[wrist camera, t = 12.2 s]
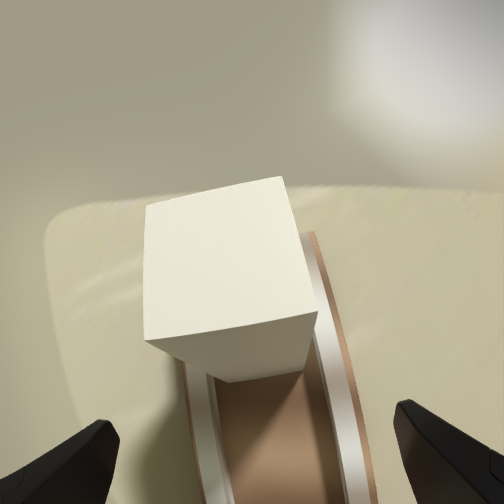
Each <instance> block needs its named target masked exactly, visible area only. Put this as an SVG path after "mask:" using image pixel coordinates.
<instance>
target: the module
mask: <svg viewBox="0 0 504 504" xmlns="http://www.w3.org/2000/svg"><path fill="white" fill-rule="evenodd" d="M317 315H318V307H317V303H316V299H315V295H314V291H313V287H312V283H311V279H310V275H309V271H308V267H307V264H306V260H305V256H304V253H303V249H302V245H301V242H300V238H299V234H298V231H297V227H296V224H295V220H294V217H293V213H292V210H291V206H290V203H289V199H288V196H287V192H286V189H285V186H284V182H283V179H282V176H278V177H273V178H267V179H262V180H257V181H252V182H247V183H241V184H237V185H232V186H227V187H222V188H218V189H213V190H208V191H204V192H200V193H195V194H191V195H187V196H182V197H178V198H174V199H170V200H166V201H162V202H158V203H154V204H150V205H146V218H145V236H144V265H143V320H144V341H146V342H148V343H150V344H151V345H153V346H155V347H157V348H159V349H160V350H162V351H164V352H166V353H168V354H170V355H172V356H174V357H176V358H177V359H179V360H181V361H183V362H185V363H187V364H189V365H191V366H193V367H195V368H197V369H199V370H201V371H203V372H206V373H208V374H210V375H212V376H214V377H216V378H218V379H220V380H223V381H225V382H227V383H233V382H240V381H247V380H253V379H259V378H265V377H271V376H276V375H281V374H287V373H292V372H297V371H301V370H304V366H305V363H306V359H307V355H308V351H309V348H310V344H311V340H312V336H313V332H314V328H315V324H316V319H317Z"/></svg>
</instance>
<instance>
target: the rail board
mask: <svg viewBox="0 0 504 504" xmlns="http://www.w3.org/2000/svg"><path fill="white" fill-rule="evenodd" d="M299 238H300V242H301V245H302V249H303V253H304V256H305V260H306V264H307V267H308V271H309V275H310V279H311V283H312V287H313V291H314V295H315V299H316V303H317V307H318V315H317V319H316V324H315V328H314V332H313V336H312V340H311V344H310V348H309V351H308V355H307V359H306V363H305V366H304V370H301V371H297V372H292V373H287V374H281V375H276V376H271V377H265V378H259V379H253V380H247V381H240V382H233V383H227V382H225V381H223V380H220V379H218V378H216V377H214V376H212V375H210V374H208V373H206V372H203V371H201V370H199V369H197V368H195V367H193V366H191V365H189V364H187V363H185V362H183V361H182V368H183V377H184V386H185V394H186V402H187V410H188V417H189V425H190V431H191V438H192V445H193V451H194V457H195V463H196V468H197V474H198V480H199V485H200V490H201V495H202V500H203V504H378V498H377V492H376V485H375V479H374V473H373V467H372V461H371V455H370V450H369V444H368V439H367V434H366V429H365V424H364V419H363V414H362V409H361V405H360V400H359V395H358V391H357V386H356V382H355V378H354V373H353V369H352V365H351V361H350V357H349V353H348V349H347V345H346V341H345V337H344V333H343V329H342V325H341V321H340V318H339V314H338V310H337V307H336V303H335V299H334V296H333V292H332V289H331V285H330V282H329V278H328V275H327V271H326V268H325V265H324V261H323V258H322V255H321V252H320V248H319V245H318V242H317V239H316V235H315V232H314V231H312V232H307V233H302V234H299Z"/></svg>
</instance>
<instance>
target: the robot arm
mask: <svg viewBox="0 0 504 504" xmlns="http://www.w3.org/2000/svg"><path fill="white" fill-rule="evenodd" d="M393 424H394V429H395V433H396V437H397V441H398V445H399V449H400V453H401V457H402V461H403V465H404V468H405V471H406V474H407V476H408V479H409V482H410V484H411V487H412V490H413V492H414V495H415V498H416V501H417V503H418V504H504V456H503V455H501V454H499V453H498V452H496V451H494V450H493V449H491V450H490V448H489V447H487V446H486V445H484V444H482V443H481V442H479V441H477V440H476V439H474V438H472V437H471V436H469V435H467V434H466V433H464V432H462V431H461V430H459V429H458V428H456V427H454V426H453V425H451V424H449V423H448V422H446V421H445V420H443V419H441V418H440V417H438V416H437V415H435V414H433V413H432V412H430V411H429V410H427V409H425V408H424V407H422V406H421V405H419V404H418V403H416V402H414V401H413V400H411V399H407V400H403V401H400V402H398V403H397V405H396V410H395V415H394V420H393ZM119 444H120V438H119V436H118V434H117V432H116V430H115V429H114V427H113V425H112V423H111V422H110V421H108V420H102V419H99V420H96V421H95V422H93V423H92V424H90V425H89V426H87V427H86V428H84V429H83V430H81V431H80V432H78V433H77V434H75V435H74V436H72V437H71V438H69V439H68V440H66V441H64V442H63V443H61V444H60V445H58V446H57V447H55V448H54V449H52V450H50V451H49V452H47V453H45V454H44V455H42V456H41V457H39V458H37V459H36V460H34V461H32V462H31V463H29V464H28V465H26V466H24V467H22V468H21V469H19V470H17V471H16V472H14V473H12V474H10V475H8V476H6V477H4V478H2V479H0V504H105V502H106V499H107V495H108V492H109V489H110V486H111V482H112V479H113V475H114V470H115V464H116V459H117V454H118V449H119Z"/></svg>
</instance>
